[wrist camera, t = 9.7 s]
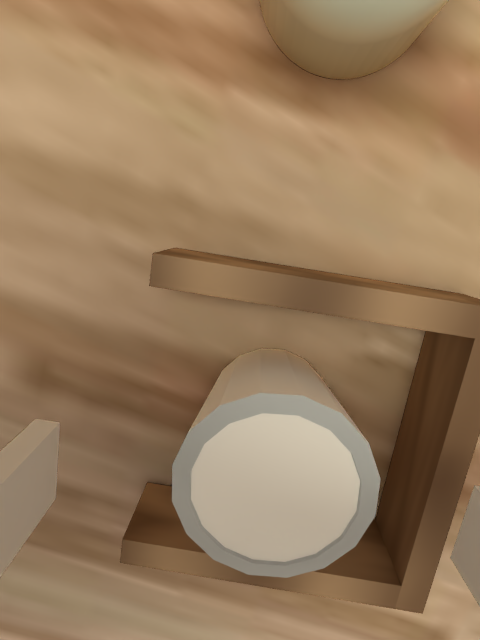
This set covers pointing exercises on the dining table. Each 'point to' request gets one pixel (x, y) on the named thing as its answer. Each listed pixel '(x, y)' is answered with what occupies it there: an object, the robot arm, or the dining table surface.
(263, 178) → the dining table surface
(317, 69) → the cream rounded cylinder
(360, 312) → the bay
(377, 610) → the dining table surface
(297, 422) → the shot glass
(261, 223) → the dining table surface
